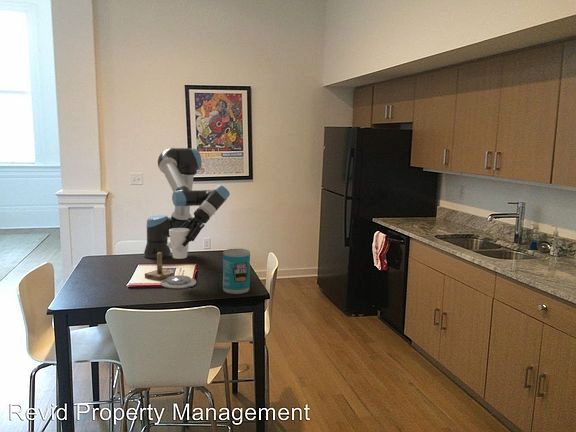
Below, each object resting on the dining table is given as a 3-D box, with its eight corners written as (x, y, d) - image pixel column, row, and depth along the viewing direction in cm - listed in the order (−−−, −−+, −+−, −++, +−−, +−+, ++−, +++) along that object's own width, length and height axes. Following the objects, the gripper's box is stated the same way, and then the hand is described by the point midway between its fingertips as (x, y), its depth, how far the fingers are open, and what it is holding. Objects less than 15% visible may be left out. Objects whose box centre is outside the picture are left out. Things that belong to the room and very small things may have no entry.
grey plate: (154, 283, 222) (153, 278, 222) (181, 277, 235) (181, 272, 234) (175, 291, 212) (175, 285, 212) (203, 283, 225) (203, 278, 224)
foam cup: (187, 259, 217) (187, 231, 215) (167, 259, 217) (166, 231, 216) (191, 255, 227) (191, 228, 225) (172, 254, 227) (172, 227, 225)
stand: (144, 277, 232) (144, 253, 230) (159, 273, 241) (159, 249, 239) (160, 280, 227) (159, 256, 226) (174, 276, 236) (174, 252, 234)
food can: (243, 295, 209) (243, 255, 206) (218, 292, 213) (218, 252, 210) (253, 288, 220) (254, 249, 218) (229, 285, 224) (230, 247, 221)
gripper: (220, 220, 220) (188, 258, 213) (199, 214, 237) (169, 249, 230) (210, 210, 216) (177, 248, 209) (189, 204, 233) (158, 239, 226)
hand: (173, 248), depth 220 cm, fingers closed on foam cup, 9 cm apart
